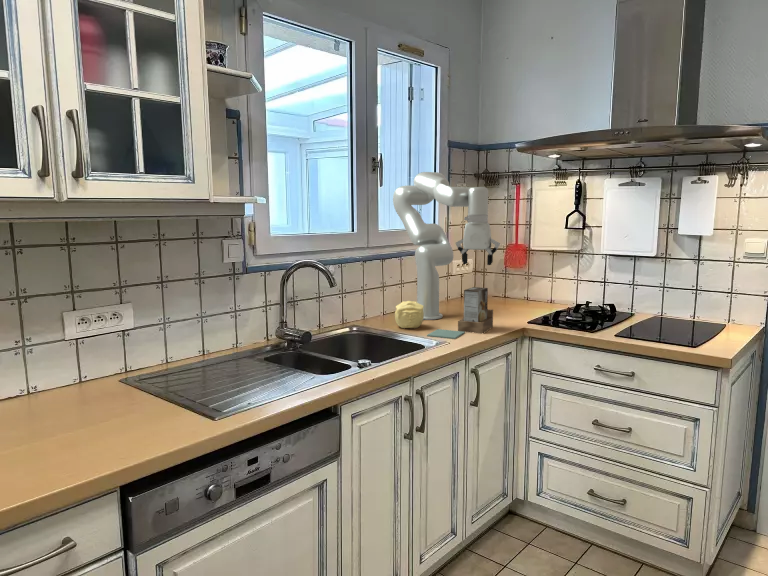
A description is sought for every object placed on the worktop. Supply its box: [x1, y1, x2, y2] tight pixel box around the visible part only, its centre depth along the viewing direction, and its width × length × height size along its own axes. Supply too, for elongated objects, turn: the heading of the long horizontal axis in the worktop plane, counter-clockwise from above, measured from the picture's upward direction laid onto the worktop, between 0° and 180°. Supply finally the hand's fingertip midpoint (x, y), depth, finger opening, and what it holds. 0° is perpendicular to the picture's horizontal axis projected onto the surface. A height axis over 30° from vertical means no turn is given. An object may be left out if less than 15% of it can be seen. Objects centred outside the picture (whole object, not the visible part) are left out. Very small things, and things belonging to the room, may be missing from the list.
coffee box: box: [463, 286, 489, 322], centre depth 219 cm, size 9×6×16 cm
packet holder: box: [457, 308, 494, 334], centre depth 220 cm, size 10×13×7 cm
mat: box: [426, 328, 466, 340], centre depth 211 cm, size 11×11×1 cm
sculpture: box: [394, 300, 424, 329], centre depth 224 cm, size 11×12×11 cm
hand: (477, 264), depth 216 cm, fingers open, 9 cm apart
